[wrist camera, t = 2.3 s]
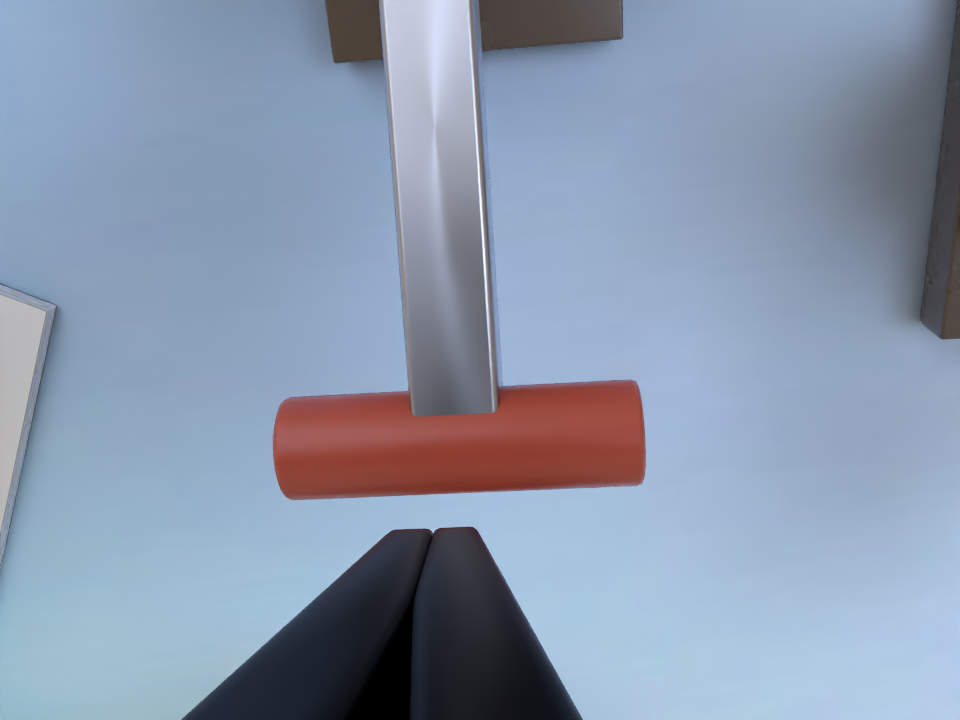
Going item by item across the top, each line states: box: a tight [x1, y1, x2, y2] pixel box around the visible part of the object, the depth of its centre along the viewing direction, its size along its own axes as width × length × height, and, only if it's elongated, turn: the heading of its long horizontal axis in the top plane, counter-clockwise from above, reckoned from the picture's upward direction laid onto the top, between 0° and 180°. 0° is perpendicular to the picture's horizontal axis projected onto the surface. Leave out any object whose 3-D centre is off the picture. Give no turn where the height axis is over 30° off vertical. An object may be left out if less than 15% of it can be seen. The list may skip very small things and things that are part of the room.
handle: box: [273, 0, 646, 500], centre depth 10 cm, size 11×4×2 cm, turn 5°
